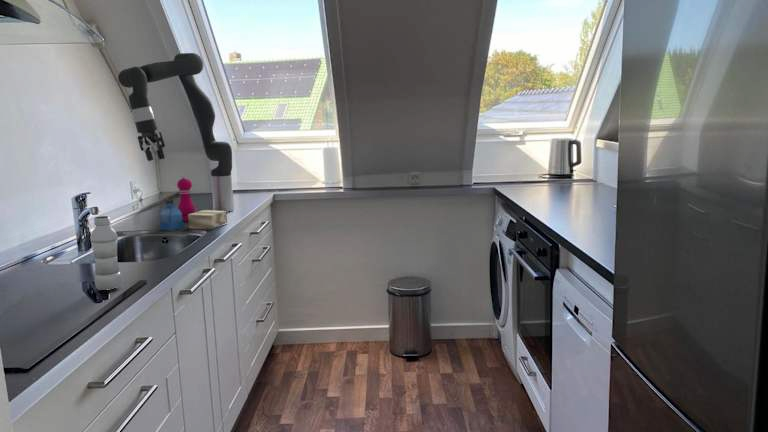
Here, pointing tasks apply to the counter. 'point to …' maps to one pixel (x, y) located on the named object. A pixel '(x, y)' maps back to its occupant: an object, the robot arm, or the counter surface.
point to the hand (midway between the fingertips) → (156, 159)
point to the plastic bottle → (105, 254)
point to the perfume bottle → (170, 217)
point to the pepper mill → (185, 198)
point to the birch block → (207, 219)
